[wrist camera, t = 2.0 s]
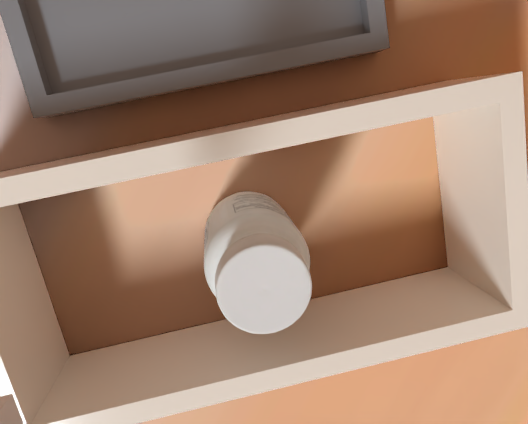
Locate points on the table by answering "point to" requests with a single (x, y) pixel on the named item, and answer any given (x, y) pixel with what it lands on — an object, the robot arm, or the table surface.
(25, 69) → the tray
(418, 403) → the table surface
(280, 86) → the table surface
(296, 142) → the cream storage bin
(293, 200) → the table surface
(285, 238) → the pill bottle
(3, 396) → the robot arm
